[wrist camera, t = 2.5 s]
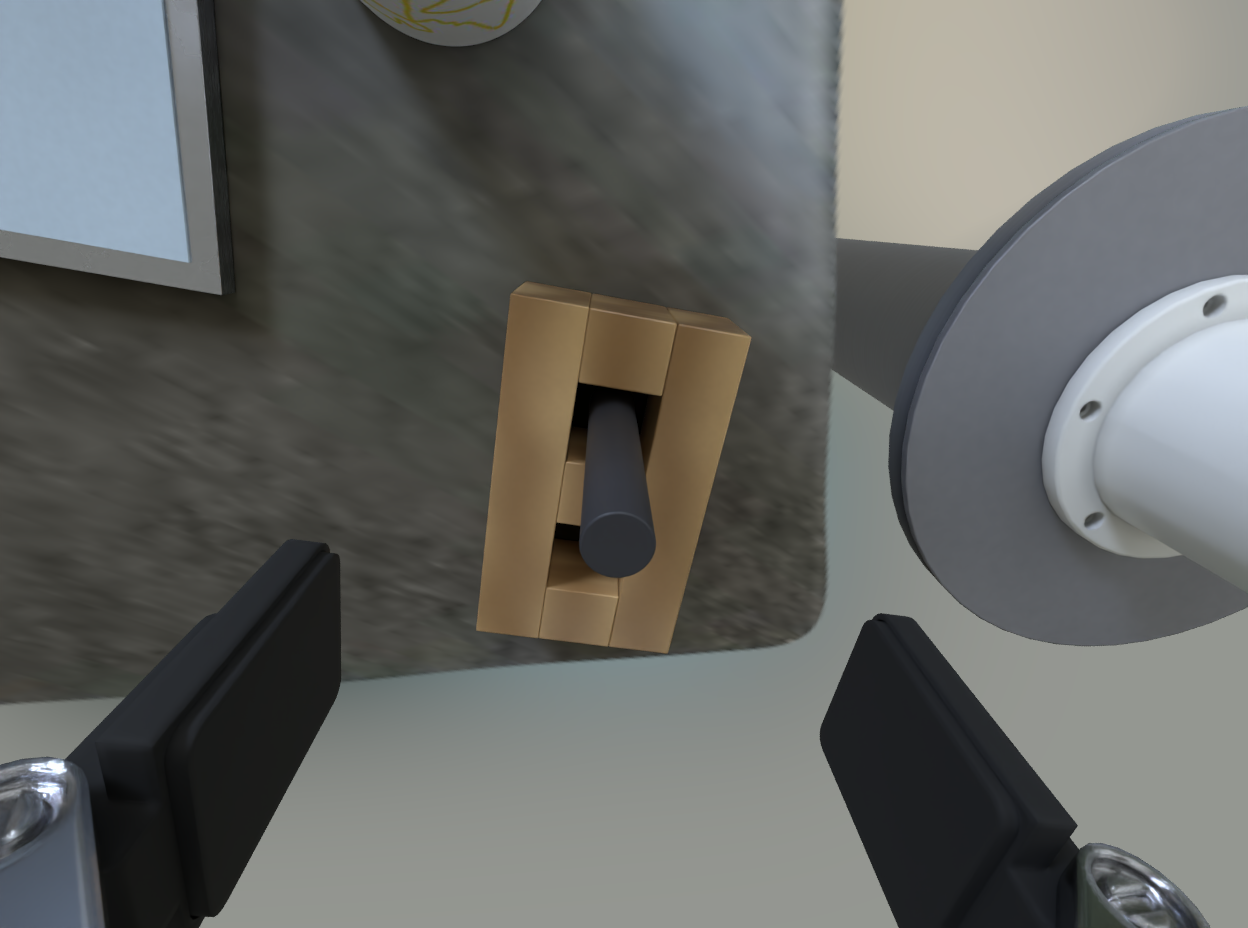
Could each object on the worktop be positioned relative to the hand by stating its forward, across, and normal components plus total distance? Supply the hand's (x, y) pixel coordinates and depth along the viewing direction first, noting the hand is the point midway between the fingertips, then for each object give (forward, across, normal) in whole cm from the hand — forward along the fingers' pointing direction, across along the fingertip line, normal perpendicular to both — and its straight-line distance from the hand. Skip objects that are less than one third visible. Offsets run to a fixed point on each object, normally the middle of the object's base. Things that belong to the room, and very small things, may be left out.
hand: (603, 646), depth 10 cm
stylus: (+15, -1, 0) cm, 15 cm away
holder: (+15, 0, +3) cm, 16 cm away
